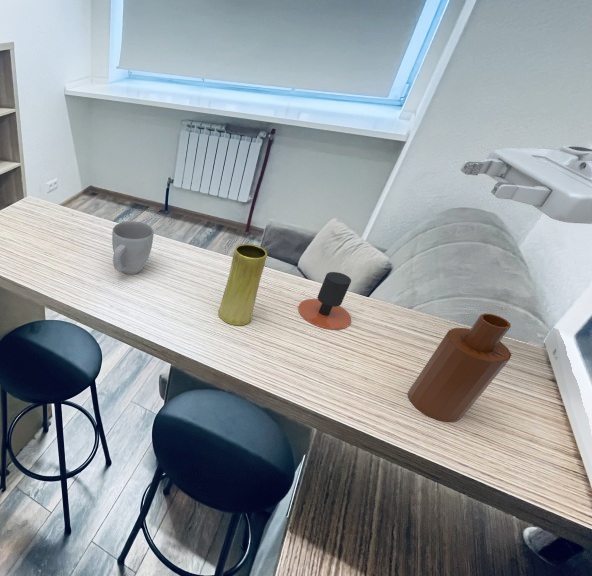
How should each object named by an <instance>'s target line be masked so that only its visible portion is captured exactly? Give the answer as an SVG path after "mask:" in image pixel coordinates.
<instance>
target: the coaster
mask: <svg viewBox="0 0 592 576" xmlns="http://www.w3.org/2000/svg"><path fill="white" fill-rule="evenodd" d="M321 305H322V303H321V302H320V301H319V300H318V298H308V299H304V300H302V301H301V302H299V305H298V308H297V310H298V314H299V316H301V317H302V319H304V320H305V321H306V322H308V323H309V324H311V325H313V326H315V327H318V328H321V329H324V330H331V331H332V330H333V331H334V330H335V331H336V330H337V331H338V330H344V329H346V328H348V327H349V326H350V325H351V323H352V317H351V314H350V313H349V312H348V310H346V309H345V308H344V307H342V305H340V306H336V307H332V309H331V311H330V314H329V315H327V316H325V315H322V314H320V313H319V310H320V307H321Z"/></svg>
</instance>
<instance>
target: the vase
mask: <svg viewBox="0 0 592 576" xmlns="http://www.w3.org/2000/svg"><path fill="white" fill-rule="evenodd" d="M267 258H268V251H267V250H266V249H265V248H264V247H262V246H259V245H256V244H252V243H242V244H238V245H236V247H235V248H234V251H233V255H232V259H231V264H230V269H229V273H228V278H227V282H226V284H225V288H224V290H223V295H222V298H221V302H220V305H219V309H218V310H217V313H218V316H219V318H220V319H221V320H222V321H223V322H225V323H227V324H229V325H232V326H245V325H248V324H250V322H251V321H252V319H253V312H254V307H255V303H256V299H257V295H258V290H259V286H260V283H261V282H260V281H261V278H262V275H263V272H264V268H265V264H266V261H267Z"/></svg>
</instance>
